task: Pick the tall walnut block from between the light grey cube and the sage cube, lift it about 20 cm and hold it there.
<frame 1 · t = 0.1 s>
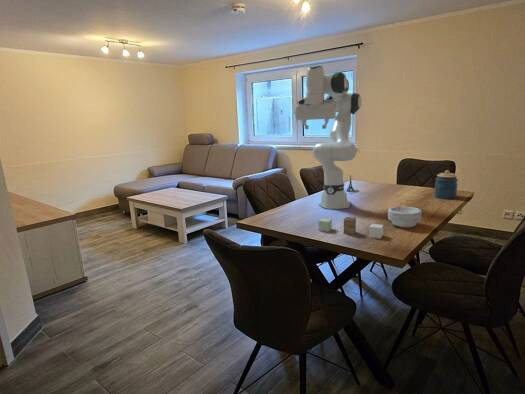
hand: (315, 128, 169), 48 cm above the table, tool pointing down, fingers open, 8 cm apart
walnut block: (349, 232, 158), on the table
grey cube: (376, 236, 152), on the table
eiffel tower figurine: (350, 192, 246), on the table
canister: (445, 197, 218), on the table
paper bowls: (403, 225, 166), on the table
sage cube: (325, 229, 164), on the table
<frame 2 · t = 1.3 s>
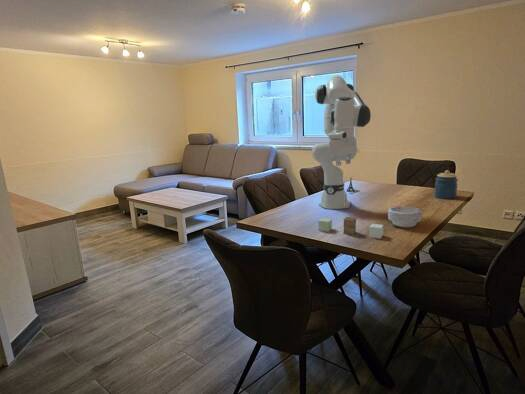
hand: (343, 164, 154), 32 cm above the table, tool pointing down, fingers open, 8 cm apart
nothing on the table moved.
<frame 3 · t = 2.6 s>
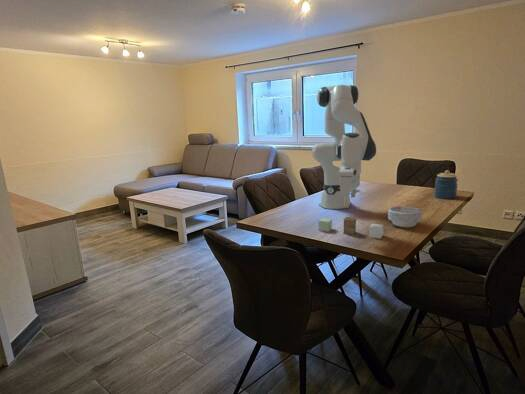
hand: (350, 199, 154), 16 cm above the table, tool pointing down, fingers open, 8 cm apart
nothing on the table moved.
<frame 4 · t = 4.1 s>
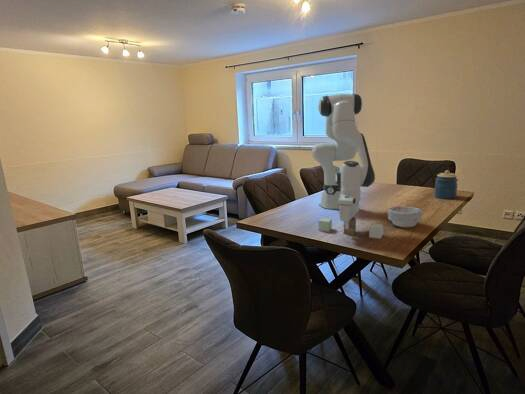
hand: (349, 225, 157), 4 cm above the table, tool pointing down, fingers open, 8 cm apart
nothing on the table moved.
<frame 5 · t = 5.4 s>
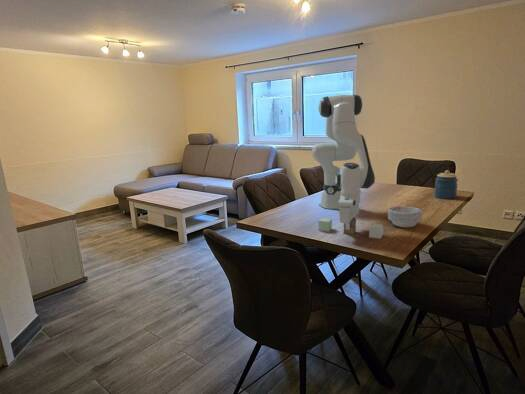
hand: (349, 227, 157), 3 cm above the table, tool pointing down, fingers closed on walnut block, 4 cm apart
walnut block: (349, 232, 158), on the table, touching gripper
everything else where it was.
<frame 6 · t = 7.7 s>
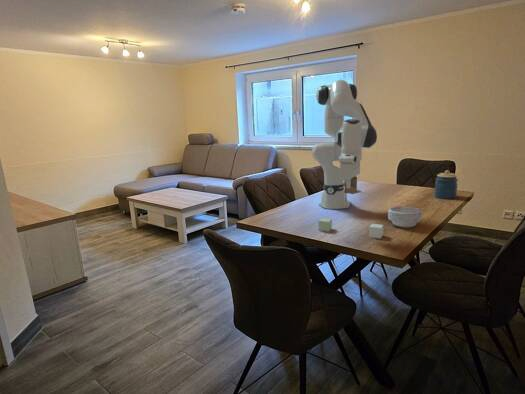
hand: (350, 186, 153), 22 cm above the table, tool pointing down, fingers closed on walnut block, 4 cm apart
walnut block: (350, 192, 154), point 19 cm above the table, touching gripper
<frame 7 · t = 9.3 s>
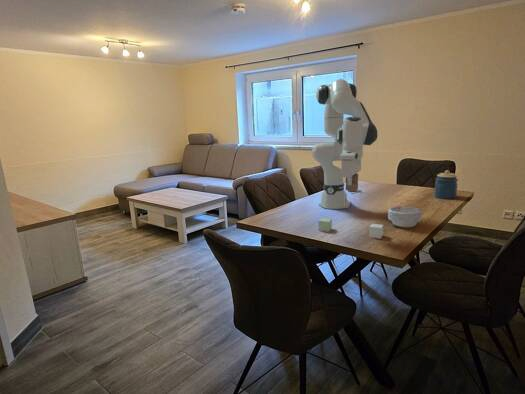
hand: (351, 183, 154), 23 cm above the table, tool pointing down, fingers closed on walnut block, 4 cm apart
walnut block: (351, 189, 155), point 20 cm above the table, touching gripper
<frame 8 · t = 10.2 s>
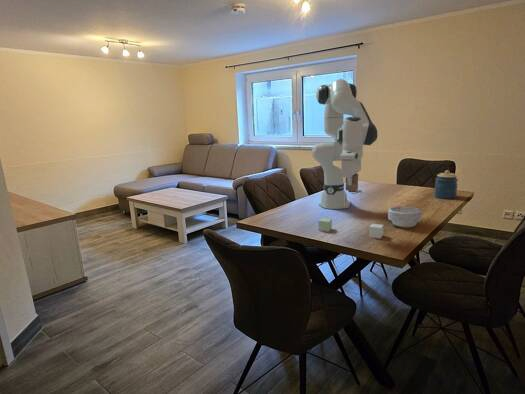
hand: (351, 183, 154), 23 cm above the table, tool pointing down, fingers closed on walnut block, 4 cm apart
walnut block: (351, 189, 155), point 20 cm above the table, touching gripper
at the end: the gripper is holding walnut block; walnut block point 20.4 cm above the table; grey cube moved 0.1 cm from its start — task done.
